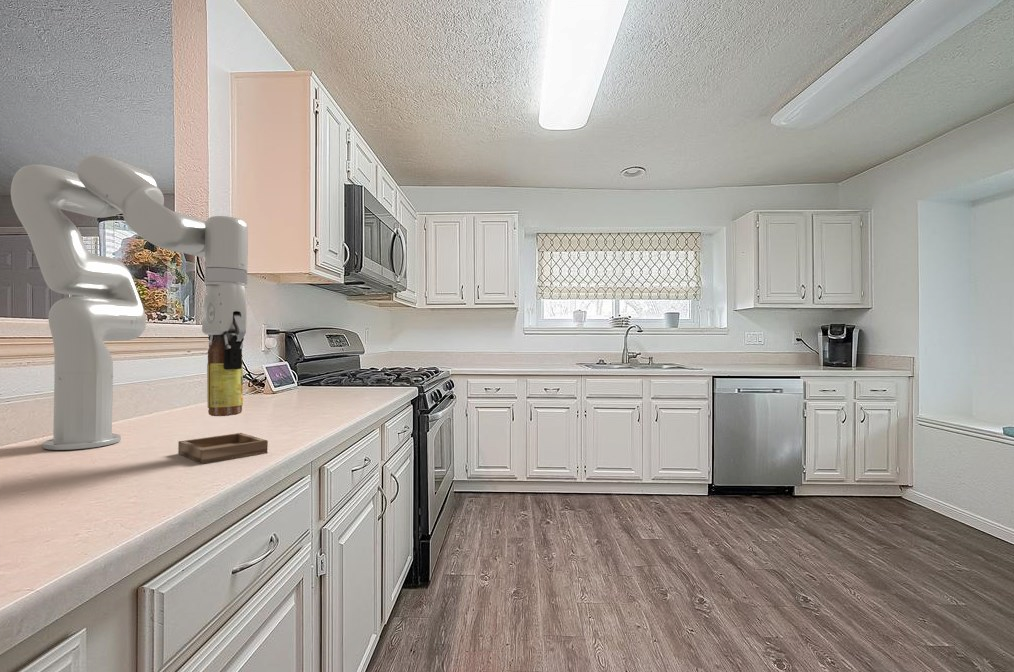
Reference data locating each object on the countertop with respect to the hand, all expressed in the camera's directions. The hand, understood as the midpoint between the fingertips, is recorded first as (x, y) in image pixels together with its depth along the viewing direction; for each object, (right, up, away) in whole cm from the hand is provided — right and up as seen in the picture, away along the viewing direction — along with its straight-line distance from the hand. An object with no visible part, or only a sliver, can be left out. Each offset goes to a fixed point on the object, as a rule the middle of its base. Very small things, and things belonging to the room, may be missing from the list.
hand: (225, 367), depth 100 cm
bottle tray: (0, -17, 0) cm, 17 cm away
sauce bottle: (0, -10, 0) cm, 10 cm away
